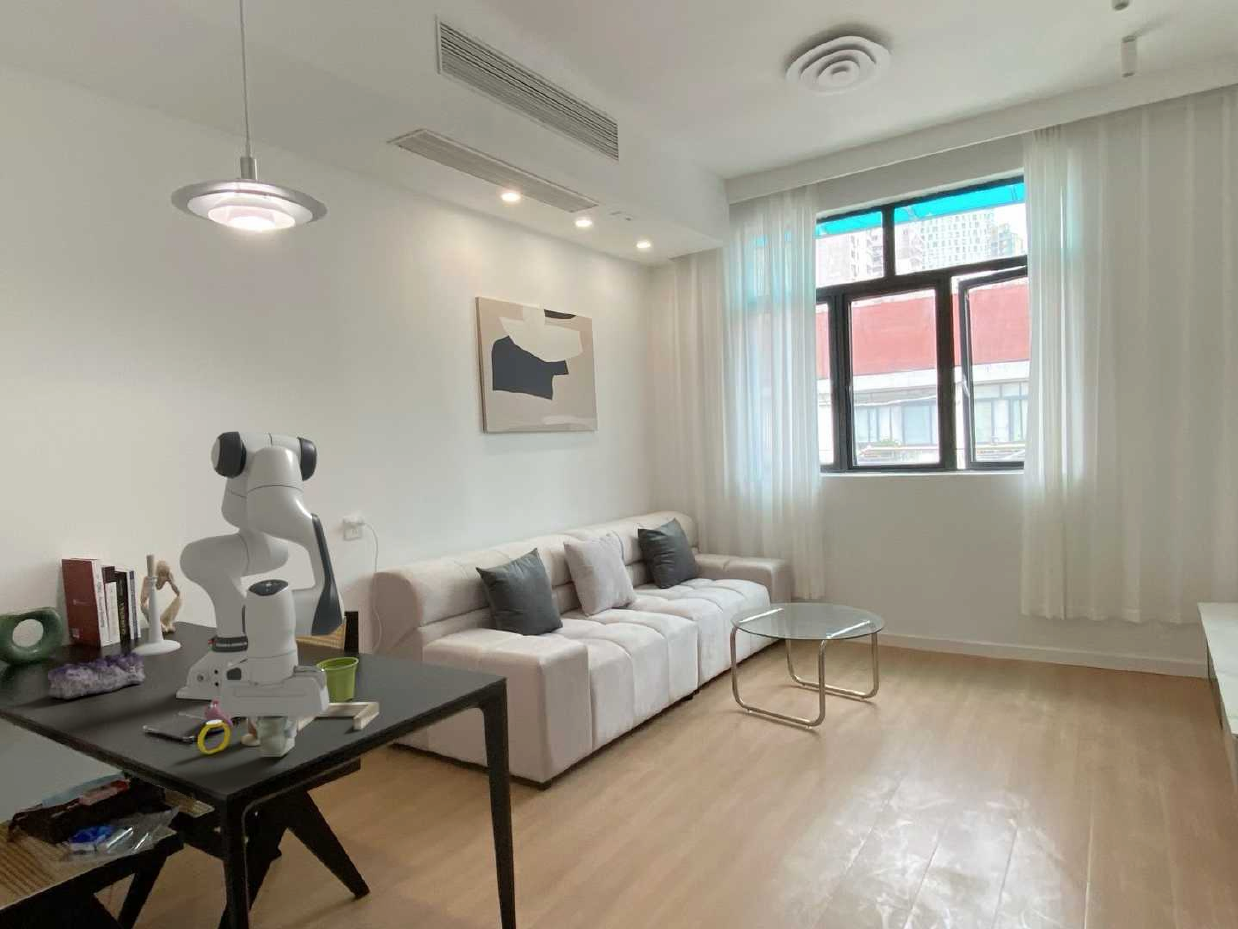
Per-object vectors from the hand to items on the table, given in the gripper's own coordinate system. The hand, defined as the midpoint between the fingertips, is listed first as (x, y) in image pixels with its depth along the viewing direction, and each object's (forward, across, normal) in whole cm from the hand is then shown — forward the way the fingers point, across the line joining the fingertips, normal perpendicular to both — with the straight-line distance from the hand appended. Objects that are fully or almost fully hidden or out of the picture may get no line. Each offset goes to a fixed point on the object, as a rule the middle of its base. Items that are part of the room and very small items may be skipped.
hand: (277, 737), depth 143 cm
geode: (+5, +72, -43) cm, 83 cm away
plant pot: (+4, +3, -32) cm, 32 cm away
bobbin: (+4, +9, -9) cm, 13 cm away
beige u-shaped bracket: (+4, -3, -17) cm, 18 cm away
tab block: (+3, 0, 0) cm, 3 cm away
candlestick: (+5, +84, -80) cm, 116 cm away
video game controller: (+4, +22, -18) cm, 28 cm away
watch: (+4, +15, -3) cm, 15 cm away
